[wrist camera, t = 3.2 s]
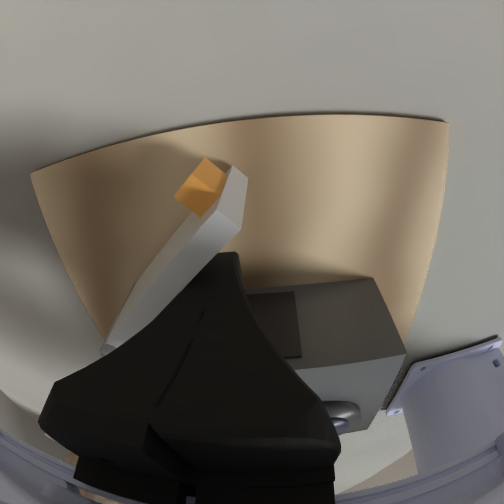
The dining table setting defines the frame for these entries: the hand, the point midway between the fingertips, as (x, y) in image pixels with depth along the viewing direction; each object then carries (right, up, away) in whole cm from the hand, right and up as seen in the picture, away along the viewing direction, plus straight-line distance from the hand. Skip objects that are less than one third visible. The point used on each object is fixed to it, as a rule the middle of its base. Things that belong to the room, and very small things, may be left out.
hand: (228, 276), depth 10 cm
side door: (-2, +2, +1) cm, 3 cm away
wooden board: (0, -1, +3) cm, 4 cm away
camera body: (+1, -4, +5) cm, 6 cm away
